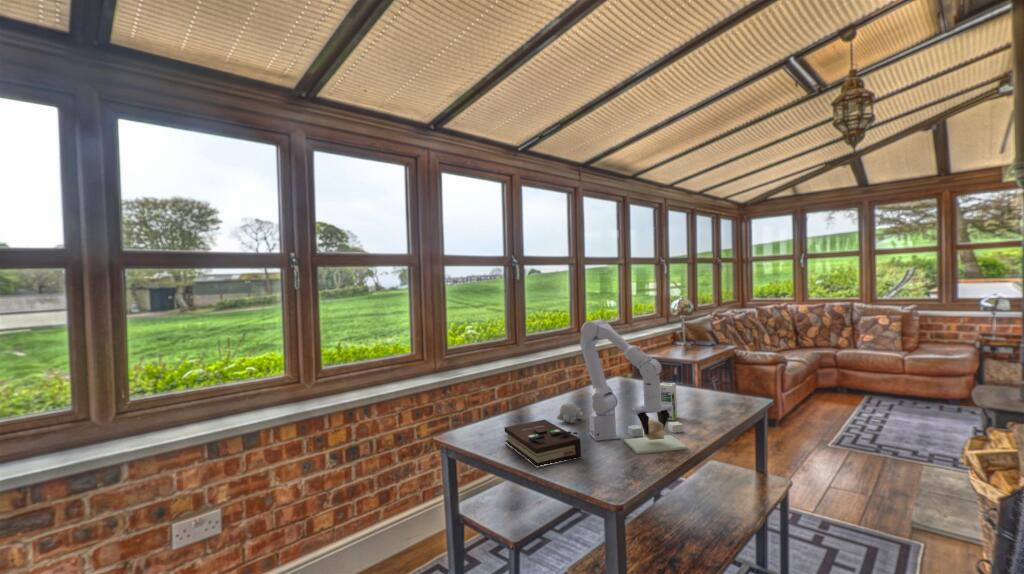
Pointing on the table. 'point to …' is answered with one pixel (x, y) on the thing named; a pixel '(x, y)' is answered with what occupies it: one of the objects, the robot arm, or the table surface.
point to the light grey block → (675, 427)
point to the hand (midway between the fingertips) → (653, 432)
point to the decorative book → (543, 442)
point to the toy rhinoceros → (569, 412)
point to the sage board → (654, 444)
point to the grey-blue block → (635, 430)
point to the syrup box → (669, 398)
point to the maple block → (655, 430)
